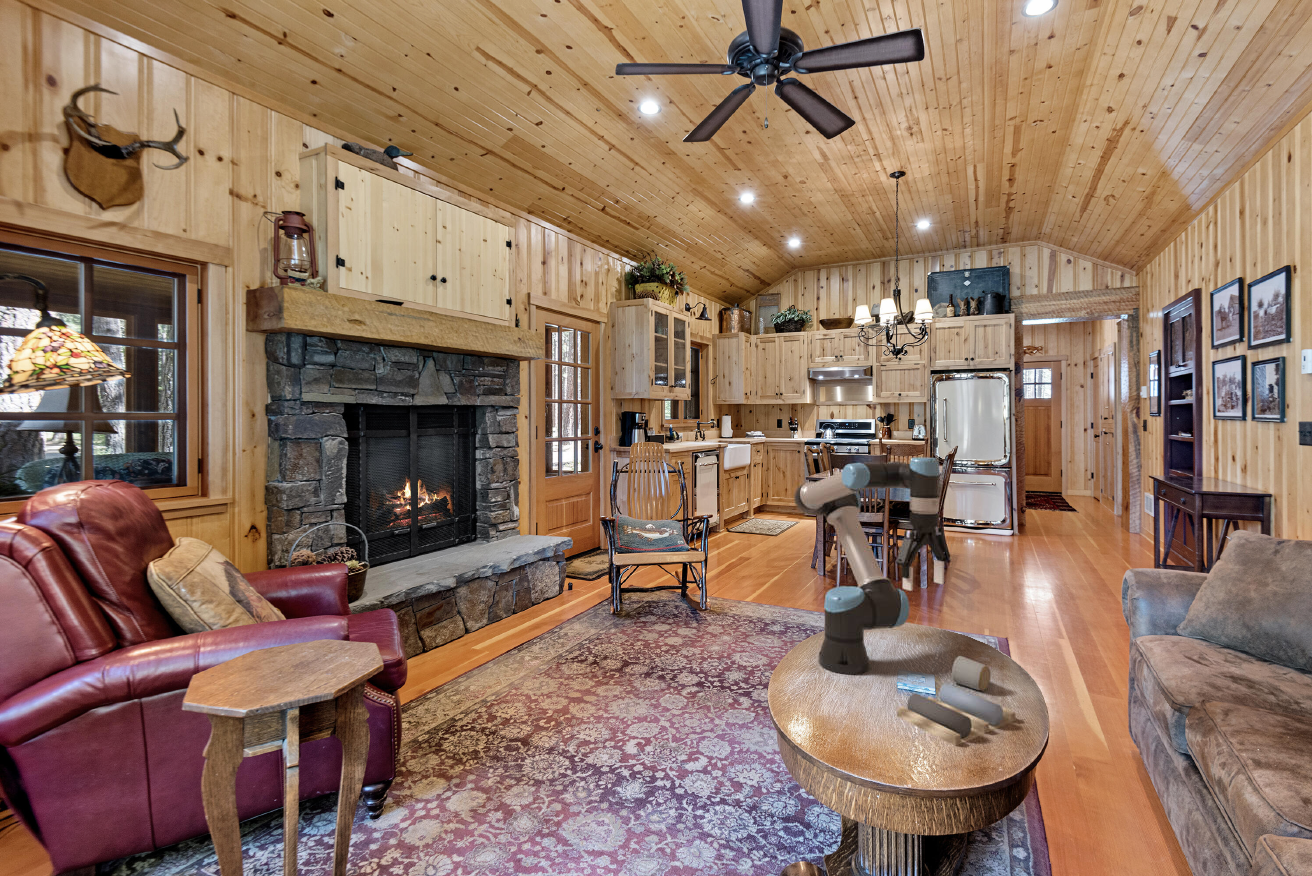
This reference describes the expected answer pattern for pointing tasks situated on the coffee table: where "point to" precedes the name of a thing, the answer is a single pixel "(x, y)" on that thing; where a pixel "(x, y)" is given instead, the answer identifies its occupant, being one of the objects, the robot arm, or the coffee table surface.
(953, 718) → the charcoal rod
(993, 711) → the gray dowel
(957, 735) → the slot rack
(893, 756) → the coffee table surface
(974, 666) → the ceramic mug
